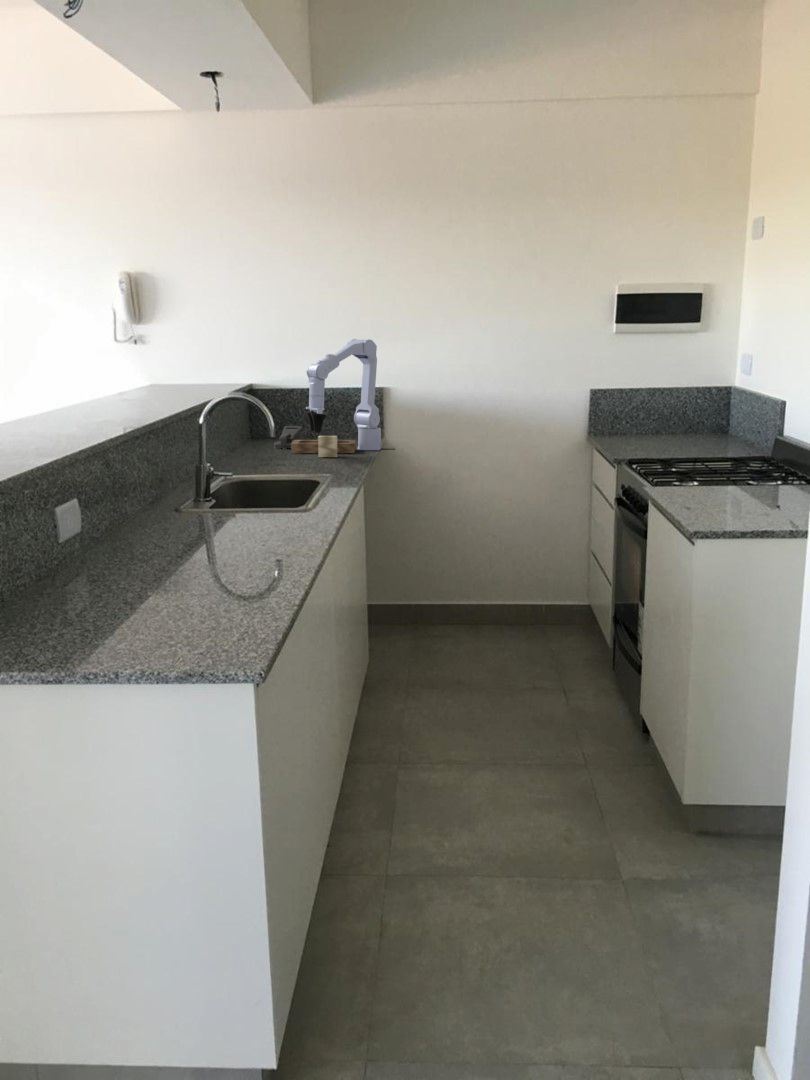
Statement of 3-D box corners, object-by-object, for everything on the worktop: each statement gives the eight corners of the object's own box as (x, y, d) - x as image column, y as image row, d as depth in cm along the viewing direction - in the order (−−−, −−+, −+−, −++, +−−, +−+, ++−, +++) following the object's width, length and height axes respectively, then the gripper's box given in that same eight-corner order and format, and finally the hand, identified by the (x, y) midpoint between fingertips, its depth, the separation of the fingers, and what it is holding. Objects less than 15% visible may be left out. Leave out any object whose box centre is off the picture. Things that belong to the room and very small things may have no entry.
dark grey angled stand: (304, 425, 396) (293, 433, 371) (304, 441, 397) (294, 449, 373) (283, 425, 396) (271, 433, 372) (284, 440, 398) (272, 449, 373)
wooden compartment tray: (355, 449, 371) (355, 440, 370) (354, 453, 361) (353, 443, 360) (294, 449, 371) (294, 439, 370) (291, 453, 362) (290, 443, 361)
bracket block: (337, 456, 356) (337, 435, 354) (336, 457, 352) (336, 437, 350) (319, 456, 356) (319, 435, 354) (318, 457, 352) (318, 437, 350)
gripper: (303, 394, 354) (302, 429, 356) (309, 396, 340) (308, 432, 343) (320, 395, 356) (319, 430, 358) (328, 397, 342) (327, 433, 345)
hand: (315, 431), depth 351 cm, fingers open, 7 cm apart
